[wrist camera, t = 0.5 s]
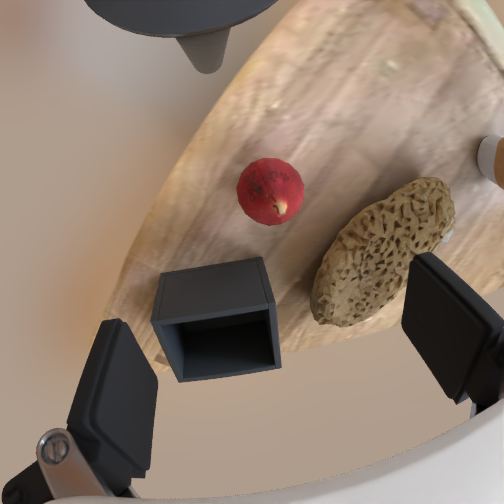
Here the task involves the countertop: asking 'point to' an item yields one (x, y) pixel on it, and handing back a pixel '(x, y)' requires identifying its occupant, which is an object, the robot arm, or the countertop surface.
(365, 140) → the countertop surface
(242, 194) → the onion
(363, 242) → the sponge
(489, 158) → the coffee cup
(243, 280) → the waste bin
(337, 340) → the countertop surface
